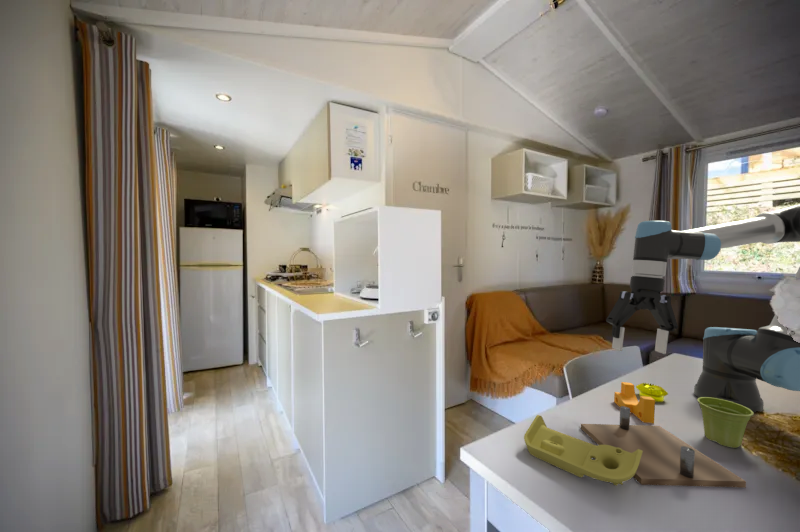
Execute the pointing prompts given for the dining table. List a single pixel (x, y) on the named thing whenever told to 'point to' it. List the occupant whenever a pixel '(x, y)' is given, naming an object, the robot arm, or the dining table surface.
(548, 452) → the plastic component
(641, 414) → the pipe clamp
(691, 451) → the locating stubs
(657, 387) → the gear
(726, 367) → the robot arm
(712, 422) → the plant pot
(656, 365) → the dining table surface
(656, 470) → the base plate
